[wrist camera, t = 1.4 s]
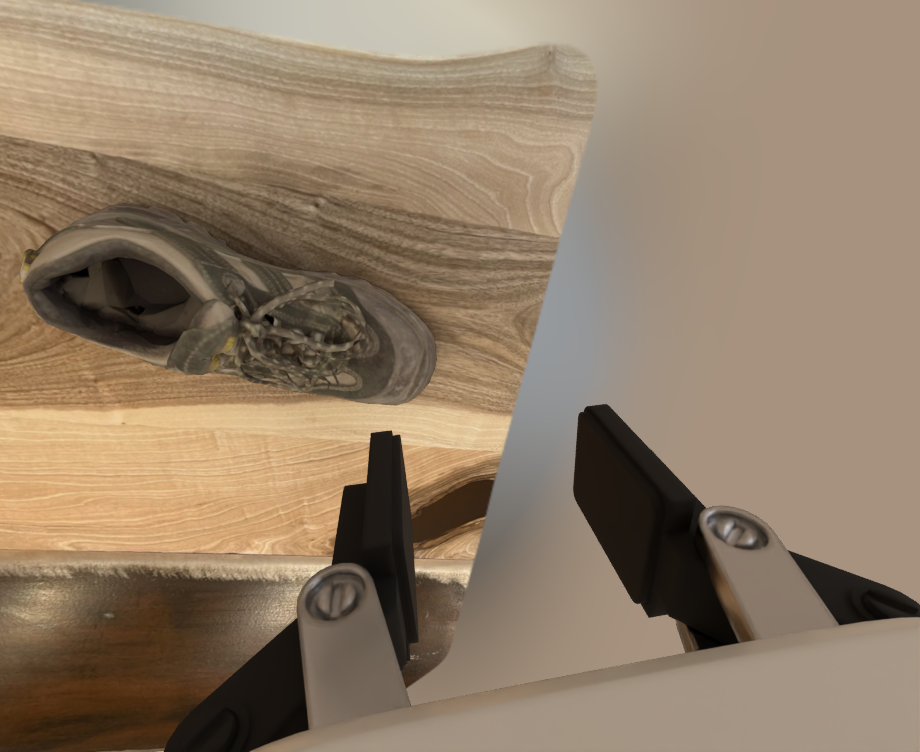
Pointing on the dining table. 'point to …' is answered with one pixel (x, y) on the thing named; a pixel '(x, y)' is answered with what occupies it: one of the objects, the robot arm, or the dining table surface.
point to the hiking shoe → (224, 309)
